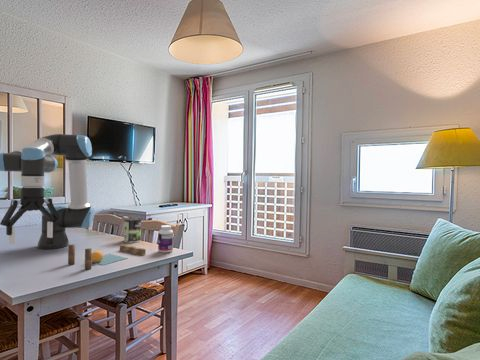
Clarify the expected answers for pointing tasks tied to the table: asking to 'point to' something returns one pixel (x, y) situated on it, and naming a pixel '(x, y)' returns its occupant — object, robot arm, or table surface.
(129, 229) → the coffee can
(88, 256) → the post
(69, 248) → the post
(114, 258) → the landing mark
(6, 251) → the table surface
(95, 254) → the ball
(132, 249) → the wooden bar
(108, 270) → the table surface
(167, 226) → the pill bottle
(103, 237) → the table surface
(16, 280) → the table surface
